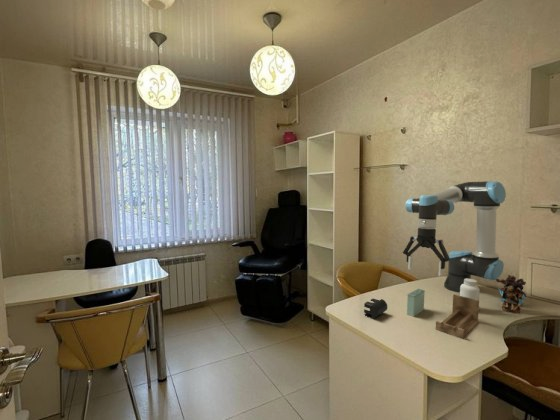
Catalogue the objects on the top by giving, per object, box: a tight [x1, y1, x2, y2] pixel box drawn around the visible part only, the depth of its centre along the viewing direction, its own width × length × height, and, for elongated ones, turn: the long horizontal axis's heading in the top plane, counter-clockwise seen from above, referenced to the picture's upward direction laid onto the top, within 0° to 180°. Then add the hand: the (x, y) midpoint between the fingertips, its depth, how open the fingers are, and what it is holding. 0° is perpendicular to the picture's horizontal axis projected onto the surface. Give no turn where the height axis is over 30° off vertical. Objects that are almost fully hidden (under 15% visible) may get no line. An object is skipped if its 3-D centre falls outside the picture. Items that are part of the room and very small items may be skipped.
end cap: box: [363, 298, 388, 319], centre depth 132 cm, size 10×7×7 cm
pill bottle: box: [459, 278, 481, 301], centre depth 139 cm, size 8×8×15 cm
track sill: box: [435, 294, 480, 340], centre depth 122 cm, size 10×22×10 cm, turn 131°
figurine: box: [495, 274, 527, 314], centre depth 137 cm, size 11×9×18 cm
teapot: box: [497, 287, 526, 306], centre depth 147 cm, size 12×6×8 cm, turn 35°
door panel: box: [406, 288, 426, 318], centre depth 135 cm, size 3×12×10 cm, turn 131°
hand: (424, 272), depth 132 cm, fingers open, 13 cm apart
